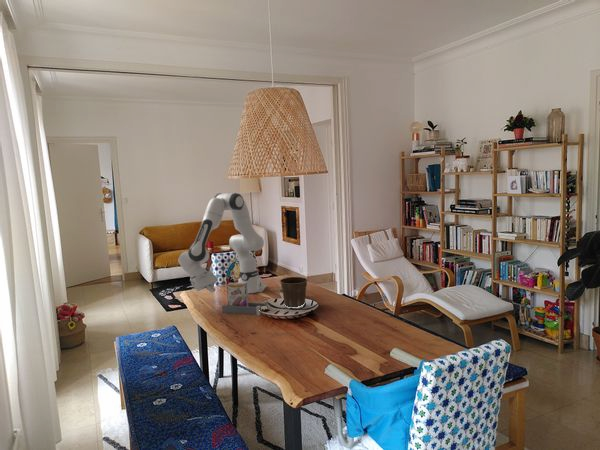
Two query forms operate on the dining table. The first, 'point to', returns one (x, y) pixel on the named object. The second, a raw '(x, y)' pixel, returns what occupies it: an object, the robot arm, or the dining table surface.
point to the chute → (245, 308)
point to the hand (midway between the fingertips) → (213, 291)
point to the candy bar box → (237, 294)
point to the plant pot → (294, 291)
